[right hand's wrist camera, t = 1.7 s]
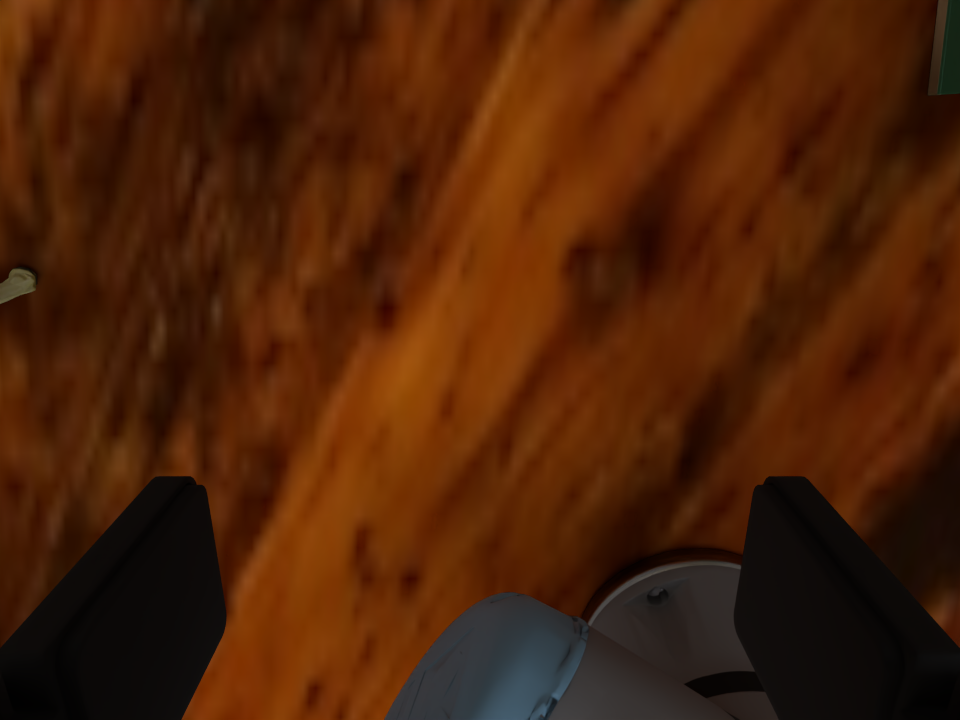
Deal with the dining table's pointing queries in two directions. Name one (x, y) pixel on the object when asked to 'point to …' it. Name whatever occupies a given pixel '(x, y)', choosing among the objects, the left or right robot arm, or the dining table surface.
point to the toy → (18, 284)
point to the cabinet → (946, 50)
